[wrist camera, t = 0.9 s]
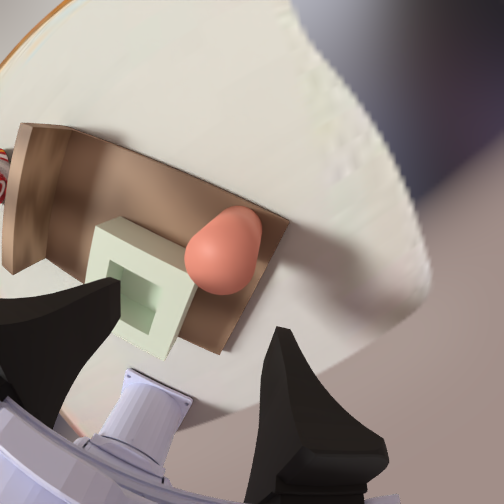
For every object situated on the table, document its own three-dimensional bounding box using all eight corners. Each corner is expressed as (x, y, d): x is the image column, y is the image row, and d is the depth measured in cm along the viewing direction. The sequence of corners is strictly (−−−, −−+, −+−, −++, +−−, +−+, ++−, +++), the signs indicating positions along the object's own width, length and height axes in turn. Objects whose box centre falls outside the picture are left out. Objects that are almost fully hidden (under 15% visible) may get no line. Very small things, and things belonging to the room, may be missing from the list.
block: (177, 337, 23) (164, 361, 19) (101, 296, 22) (81, 313, 19) (209, 259, 20) (197, 277, 17) (120, 216, 20) (95, 225, 16)
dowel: (250, 260, 20) (237, 306, 13) (207, 240, 20) (175, 276, 13) (270, 218, 19) (268, 245, 12) (226, 197, 19) (199, 214, 12)
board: (220, 349, 24) (207, 394, 18) (39, 247, 22) (1, 265, 17) (288, 220, 20) (294, 241, 14) (64, 125, 18) (20, 122, 13)
